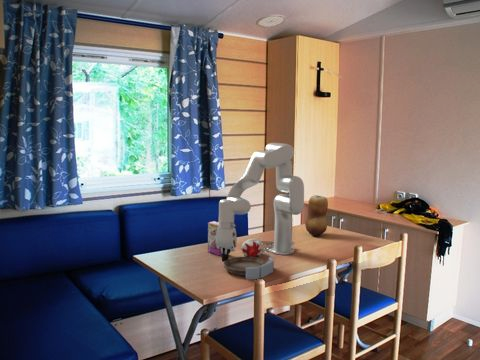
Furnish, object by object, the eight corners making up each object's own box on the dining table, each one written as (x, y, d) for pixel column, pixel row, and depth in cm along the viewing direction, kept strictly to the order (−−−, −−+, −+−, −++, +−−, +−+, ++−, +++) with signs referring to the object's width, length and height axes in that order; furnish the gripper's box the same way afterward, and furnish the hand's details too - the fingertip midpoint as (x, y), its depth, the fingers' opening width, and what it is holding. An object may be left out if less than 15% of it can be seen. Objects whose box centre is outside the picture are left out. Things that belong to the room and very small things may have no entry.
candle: (259, 250, 235) (265, 263, 220) (238, 251, 233) (243, 263, 218) (260, 235, 232) (266, 246, 218) (239, 235, 230) (244, 247, 216)
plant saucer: (214, 267, 208) (215, 261, 207) (247, 259, 221) (247, 253, 220) (242, 280, 192) (242, 273, 191) (275, 271, 205) (276, 264, 204)
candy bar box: (207, 252, 232) (207, 222, 230) (213, 250, 236) (213, 220, 233) (222, 256, 225) (223, 226, 222) (229, 254, 229) (229, 224, 226)
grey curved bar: (269, 266, 211) (269, 256, 211) (278, 268, 208) (279, 258, 208) (244, 279, 194) (244, 268, 193) (254, 281, 191) (254, 270, 190)
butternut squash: (326, 238, 263) (328, 198, 260) (303, 237, 266) (305, 197, 263) (326, 233, 276) (328, 194, 273) (305, 231, 279) (307, 193, 276)
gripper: (243, 226, 209) (241, 262, 212) (219, 221, 218) (218, 256, 220) (233, 228, 203) (232, 266, 206) (209, 223, 212) (208, 259, 214)
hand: (225, 261), depth 213 cm, fingers closed
